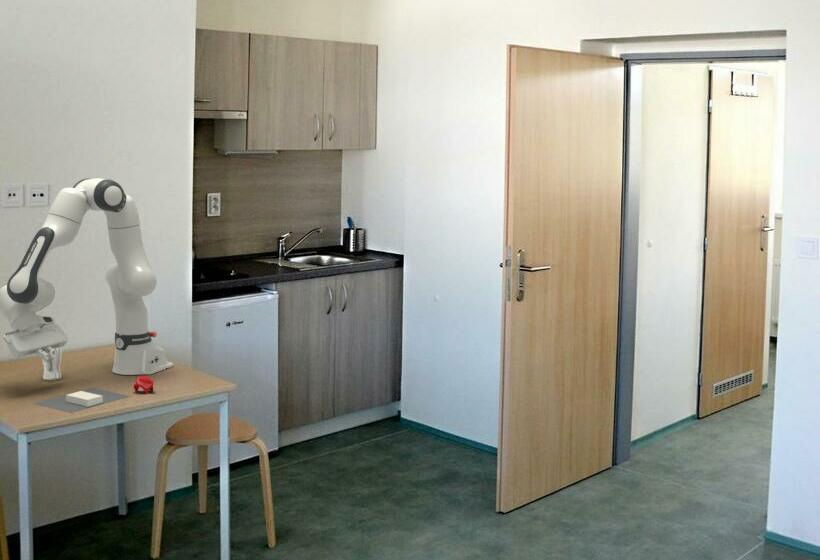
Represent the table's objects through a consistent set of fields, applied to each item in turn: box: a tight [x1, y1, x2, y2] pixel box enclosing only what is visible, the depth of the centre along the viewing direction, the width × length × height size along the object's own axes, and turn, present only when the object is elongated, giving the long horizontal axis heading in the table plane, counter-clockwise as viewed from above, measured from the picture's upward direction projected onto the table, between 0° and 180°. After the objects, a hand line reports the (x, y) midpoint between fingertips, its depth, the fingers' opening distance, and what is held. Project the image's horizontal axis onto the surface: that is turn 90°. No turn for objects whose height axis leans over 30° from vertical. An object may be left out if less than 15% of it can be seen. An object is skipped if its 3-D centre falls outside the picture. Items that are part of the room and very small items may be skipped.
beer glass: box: [41, 347, 63, 381], centre depth 357 cm, size 7×7×15 cm
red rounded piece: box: [133, 375, 154, 394], centre depth 341 cm, size 8×6×6 cm
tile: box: [65, 390, 103, 407], centre depth 326 cm, size 6×2×10 cm
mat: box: [33, 387, 131, 414], centre depth 330 cm, size 24×18×1 cm
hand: (49, 360), depth 335 cm, fingers closed
